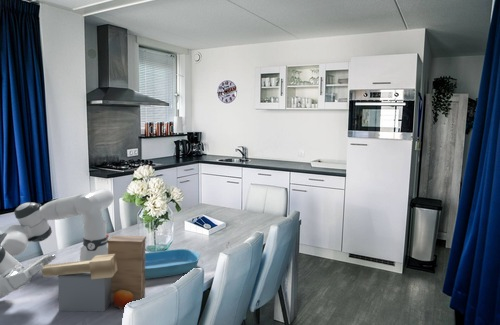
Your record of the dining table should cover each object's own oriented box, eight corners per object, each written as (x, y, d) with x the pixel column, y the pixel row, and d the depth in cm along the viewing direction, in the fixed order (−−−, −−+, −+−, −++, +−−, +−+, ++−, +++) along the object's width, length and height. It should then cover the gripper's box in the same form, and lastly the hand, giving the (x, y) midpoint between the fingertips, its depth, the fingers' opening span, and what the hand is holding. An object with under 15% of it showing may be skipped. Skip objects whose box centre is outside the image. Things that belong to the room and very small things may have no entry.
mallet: (45, 260, 146) (36, 267, 139) (115, 253, 148) (109, 260, 141) (47, 277, 147) (38, 284, 140) (117, 270, 149) (112, 277, 142)
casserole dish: (191, 257, 207) (191, 245, 207) (206, 272, 188) (206, 259, 187) (124, 268, 189) (124, 254, 189) (133, 285, 170) (133, 270, 169)
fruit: (105, 307, 146) (112, 286, 149) (116, 308, 153) (123, 289, 156) (121, 311, 143) (128, 290, 146) (132, 313, 150) (138, 293, 153)
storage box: (67, 300, 153) (67, 267, 151) (111, 301, 154) (111, 268, 152) (58, 310, 144) (57, 276, 143) (104, 311, 145) (104, 277, 144)
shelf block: (113, 291, 163) (113, 235, 160) (145, 292, 163) (146, 236, 161) (107, 299, 155) (107, 240, 152) (141, 299, 156) (141, 241, 153)
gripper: (36, 272, 156) (64, 257, 156) (7, 294, 136) (40, 277, 136) (28, 260, 155) (57, 245, 155) (-2, 280, 135) (31, 263, 135)
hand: (49, 260), depth 145 cm, fingers open, 8 cm apart
